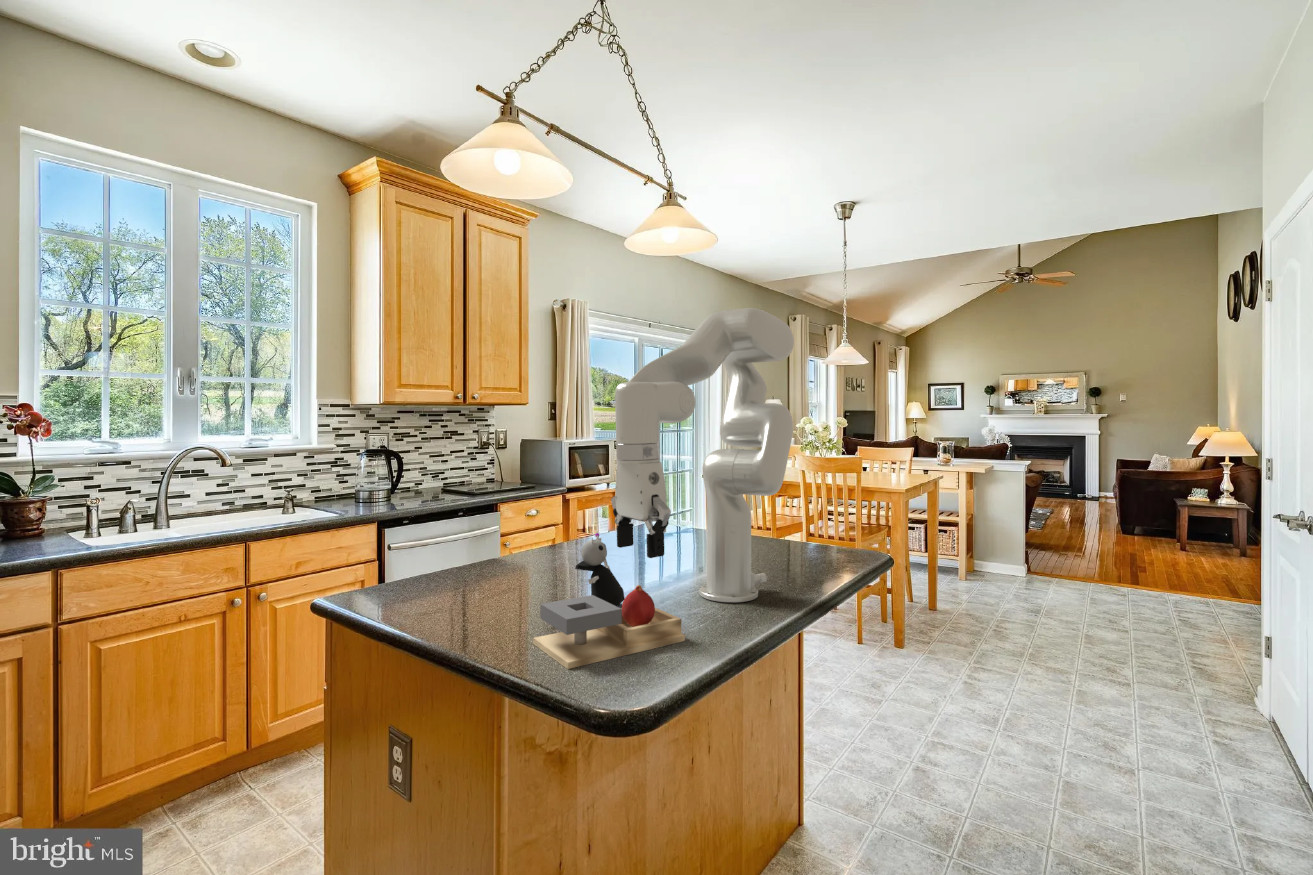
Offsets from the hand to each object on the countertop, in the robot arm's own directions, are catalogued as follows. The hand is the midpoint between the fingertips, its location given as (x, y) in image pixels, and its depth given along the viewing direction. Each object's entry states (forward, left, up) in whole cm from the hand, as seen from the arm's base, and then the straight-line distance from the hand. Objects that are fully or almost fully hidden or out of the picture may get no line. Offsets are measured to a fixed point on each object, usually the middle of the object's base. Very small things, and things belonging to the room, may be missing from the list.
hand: (640, 551), depth 108 cm
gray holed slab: (+12, 0, -10) cm, 15 cm away
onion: (+1, 0, -14) cm, 14 cm away
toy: (-2, -17, -15) cm, 22 cm away
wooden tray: (+6, 0, -15) cm, 16 cm away
